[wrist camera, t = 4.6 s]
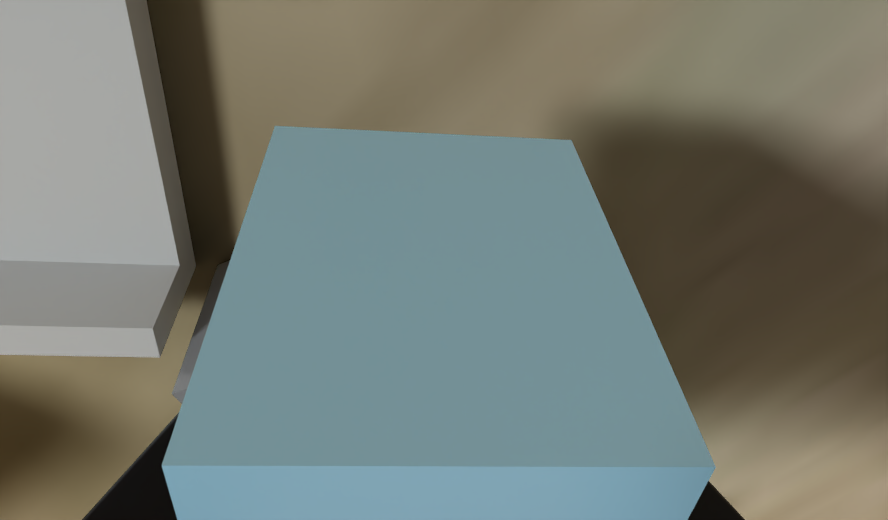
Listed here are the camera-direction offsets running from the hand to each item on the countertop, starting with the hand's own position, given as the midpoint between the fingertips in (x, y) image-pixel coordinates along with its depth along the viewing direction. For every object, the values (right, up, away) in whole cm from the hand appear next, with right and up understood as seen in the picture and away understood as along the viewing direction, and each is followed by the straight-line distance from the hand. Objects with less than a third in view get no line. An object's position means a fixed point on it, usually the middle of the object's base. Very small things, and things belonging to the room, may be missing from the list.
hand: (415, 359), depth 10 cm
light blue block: (0, +1, +1) cm, 1 cm away
